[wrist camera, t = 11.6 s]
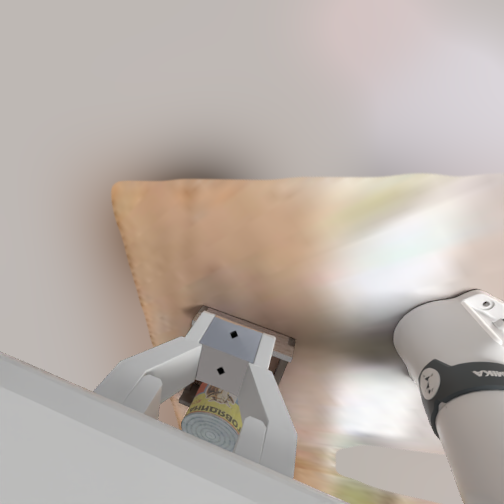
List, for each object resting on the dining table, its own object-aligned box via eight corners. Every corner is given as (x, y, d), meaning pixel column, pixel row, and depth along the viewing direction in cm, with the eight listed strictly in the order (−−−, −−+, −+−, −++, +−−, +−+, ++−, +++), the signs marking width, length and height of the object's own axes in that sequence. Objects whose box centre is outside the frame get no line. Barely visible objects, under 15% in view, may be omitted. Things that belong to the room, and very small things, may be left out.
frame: (295, 339, 49) (292, 357, 45) (263, 416, 60) (258, 436, 56) (203, 305, 51) (192, 320, 47) (188, 385, 62) (178, 402, 58)
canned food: (259, 368, 55) (242, 425, 44) (254, 404, 59) (238, 464, 49) (207, 354, 57) (180, 405, 46) (207, 390, 62) (182, 444, 51)
